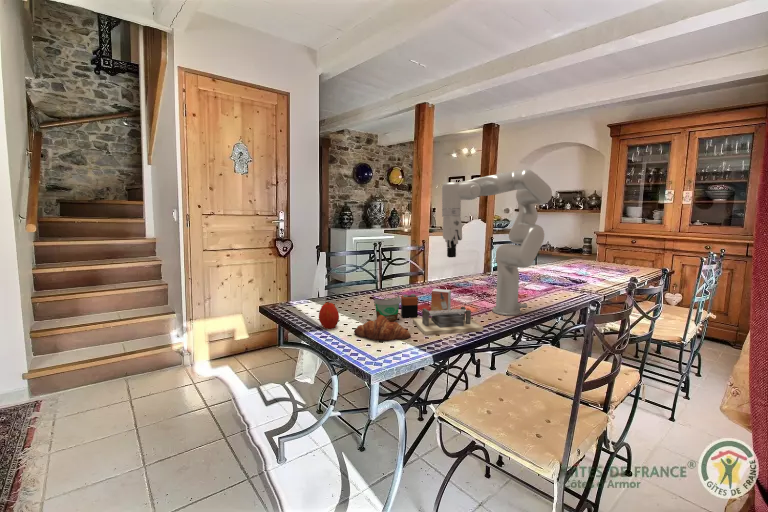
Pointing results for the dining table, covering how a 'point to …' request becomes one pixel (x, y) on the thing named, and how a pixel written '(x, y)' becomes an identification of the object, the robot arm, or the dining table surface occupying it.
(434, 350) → the dining table surface
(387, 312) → the food container
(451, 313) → the clamp bar
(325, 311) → the red egg
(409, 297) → the battery
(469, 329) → the heatsink board
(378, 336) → the pastry
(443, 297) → the small box
